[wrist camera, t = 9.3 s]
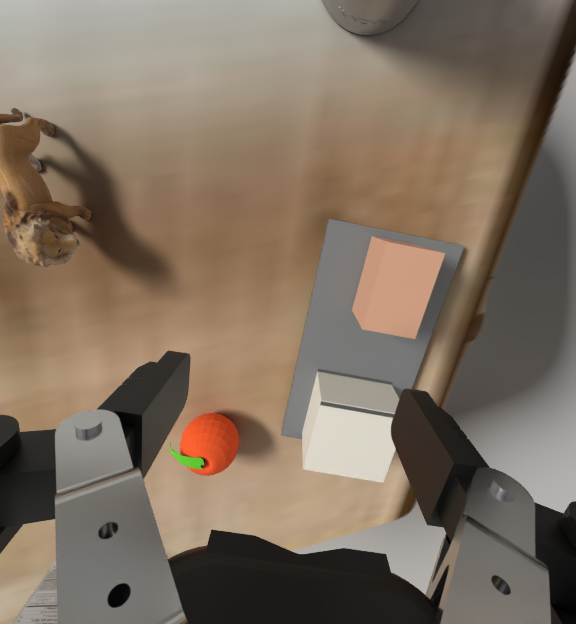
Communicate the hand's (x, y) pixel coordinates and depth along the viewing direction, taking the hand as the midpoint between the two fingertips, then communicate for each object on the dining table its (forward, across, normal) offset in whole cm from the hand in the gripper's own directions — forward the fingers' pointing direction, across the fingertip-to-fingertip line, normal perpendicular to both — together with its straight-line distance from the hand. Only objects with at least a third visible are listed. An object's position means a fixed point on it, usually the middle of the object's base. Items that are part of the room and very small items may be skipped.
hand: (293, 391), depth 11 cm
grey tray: (+23, -9, +8) cm, 26 cm away
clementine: (+24, +7, +22) cm, 33 cm away
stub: (+22, -9, -1) cm, 24 cm away
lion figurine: (+24, +24, -4) cm, 34 cm away
